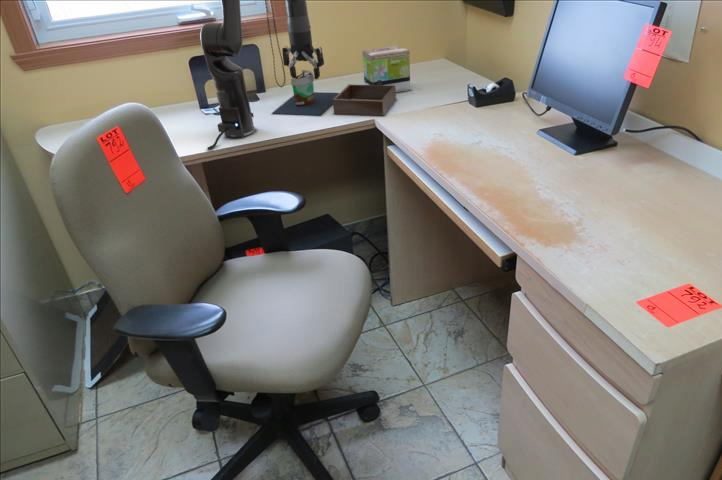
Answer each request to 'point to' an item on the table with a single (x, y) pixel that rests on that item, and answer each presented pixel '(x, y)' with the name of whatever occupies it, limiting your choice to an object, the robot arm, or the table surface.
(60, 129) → the table surface
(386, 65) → the tea box
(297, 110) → the desk mat
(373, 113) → the crate
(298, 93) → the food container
